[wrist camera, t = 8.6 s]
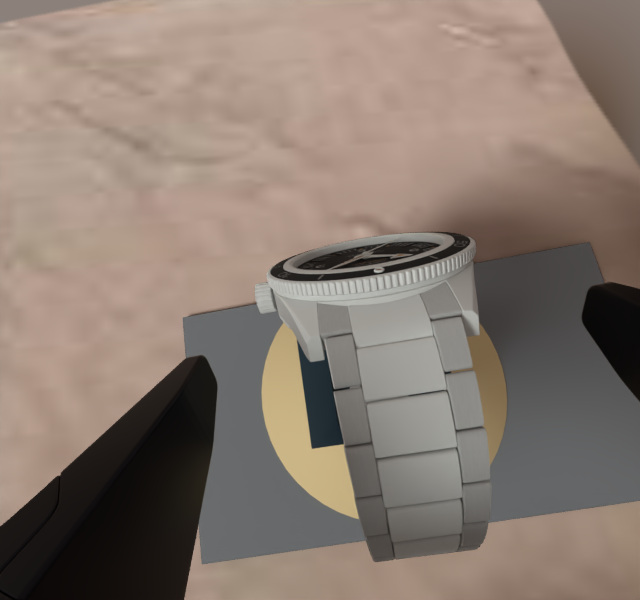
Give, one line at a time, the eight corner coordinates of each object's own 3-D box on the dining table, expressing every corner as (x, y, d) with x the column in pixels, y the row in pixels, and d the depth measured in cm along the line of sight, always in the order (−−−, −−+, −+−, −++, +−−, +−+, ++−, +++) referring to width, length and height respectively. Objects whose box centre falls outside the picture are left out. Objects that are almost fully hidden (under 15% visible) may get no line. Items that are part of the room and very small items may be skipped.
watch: (413, 282, 17) (505, 124, 7) (452, 460, 16) (666, 635, 5) (298, 302, 18) (212, 181, 7) (323, 479, 16) (257, 680, 5)
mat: (675, 492, 15) (683, 495, 14) (204, 560, 16) (200, 565, 16) (582, 234, 17) (587, 231, 17) (184, 309, 19) (180, 307, 18)
